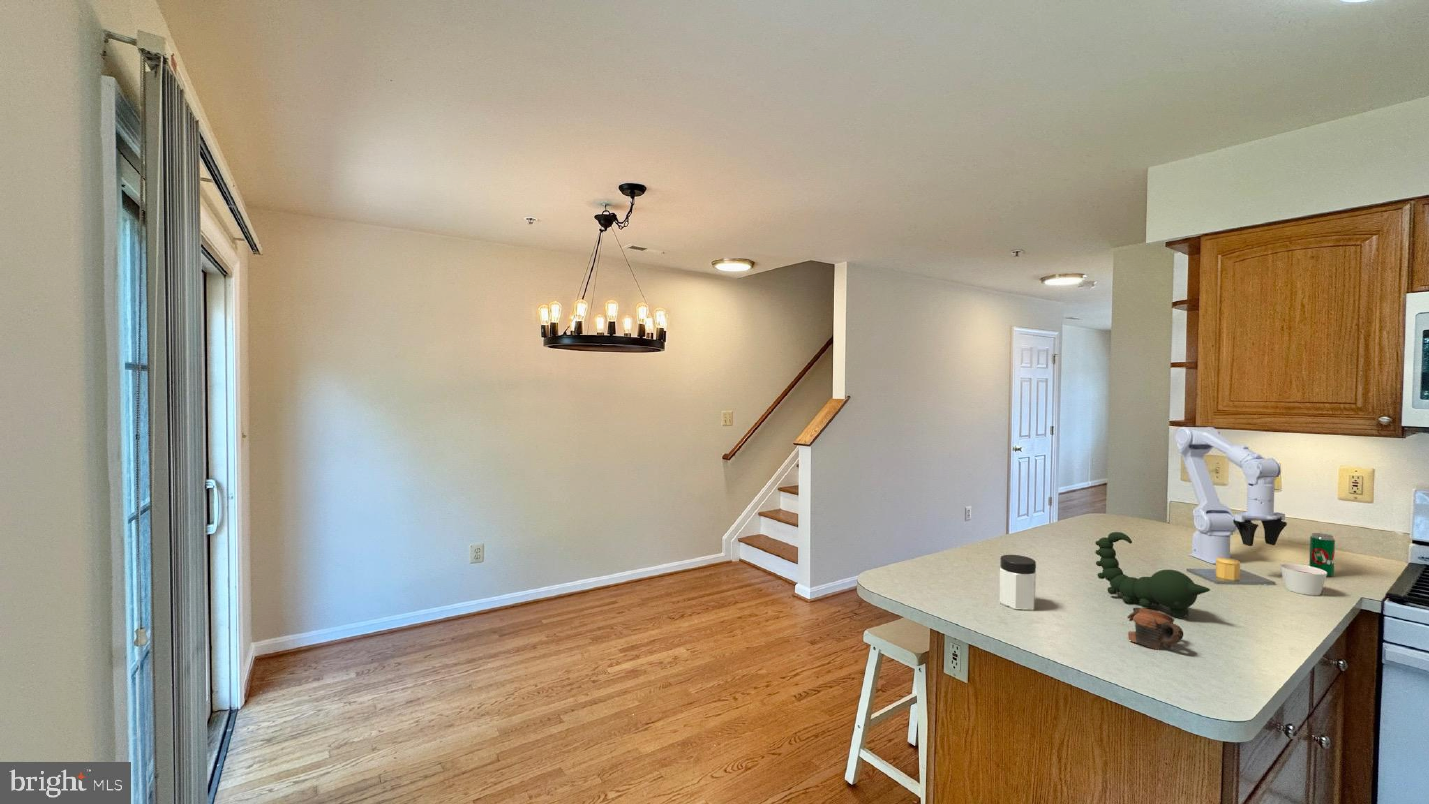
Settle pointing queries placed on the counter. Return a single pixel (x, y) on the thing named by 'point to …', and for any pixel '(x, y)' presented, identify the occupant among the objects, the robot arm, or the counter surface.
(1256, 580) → the plate
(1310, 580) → the candle
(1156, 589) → the toy figurine
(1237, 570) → the orange cap
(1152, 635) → the pottery mug
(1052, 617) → the counter surface
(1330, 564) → the soda can
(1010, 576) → the jar
